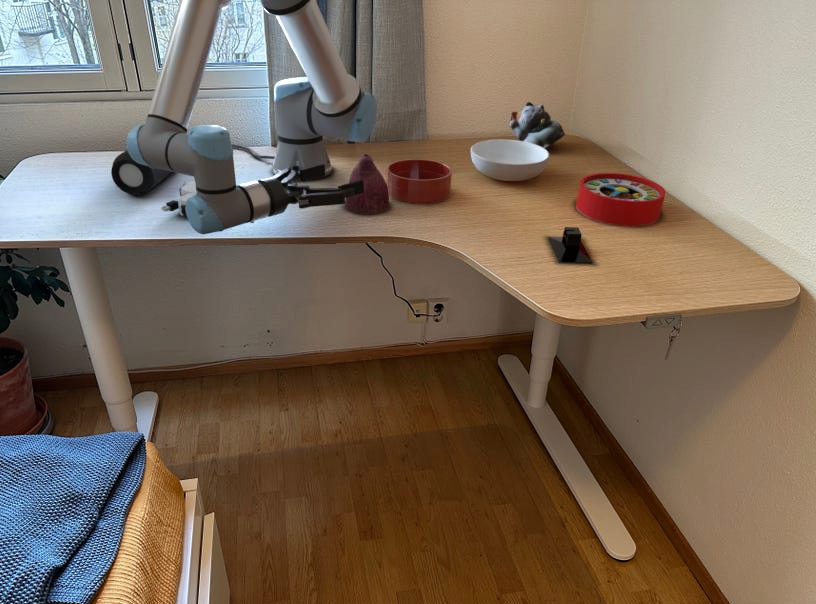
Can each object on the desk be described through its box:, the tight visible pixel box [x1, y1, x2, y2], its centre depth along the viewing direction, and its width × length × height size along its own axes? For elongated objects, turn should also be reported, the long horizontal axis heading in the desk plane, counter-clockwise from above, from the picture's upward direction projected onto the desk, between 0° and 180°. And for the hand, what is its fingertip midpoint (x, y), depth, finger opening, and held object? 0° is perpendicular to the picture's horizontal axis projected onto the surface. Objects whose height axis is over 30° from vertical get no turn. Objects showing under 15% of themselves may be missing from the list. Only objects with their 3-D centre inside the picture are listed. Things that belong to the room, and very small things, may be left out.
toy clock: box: [575, 172, 666, 227], centre depth 159 cm, size 20×6×20 cm
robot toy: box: [160, 179, 197, 217], centre depth 150 cm, size 12×4×15 cm
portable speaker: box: [110, 149, 172, 195], centre depth 163 cm, size 26×10×10 cm, turn 176°
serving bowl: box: [470, 138, 550, 182], centre depth 176 cm, size 21×21×7 cm
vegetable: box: [344, 152, 390, 216], centre depth 152 cm, size 10×10×15 cm
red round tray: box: [385, 158, 453, 205], centre depth 163 cm, size 16×16×6 cm
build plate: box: [547, 226, 594, 265], centre depth 139 cm, size 12×7×5 cm, turn 1°
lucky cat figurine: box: [509, 101, 566, 150], centre depth 199 cm, size 15×12×14 cm
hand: (342, 177), depth 147 cm, fingers open, 13 cm apart
